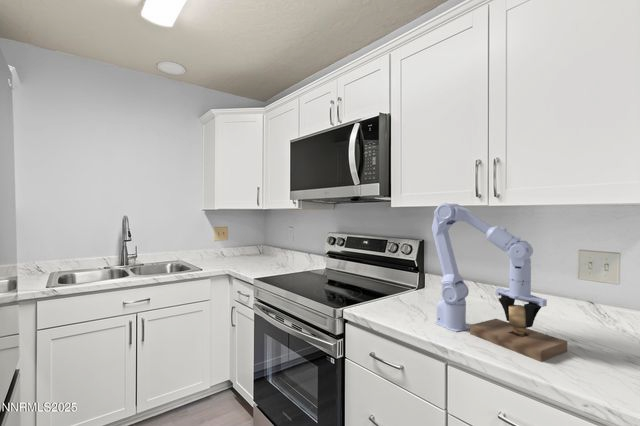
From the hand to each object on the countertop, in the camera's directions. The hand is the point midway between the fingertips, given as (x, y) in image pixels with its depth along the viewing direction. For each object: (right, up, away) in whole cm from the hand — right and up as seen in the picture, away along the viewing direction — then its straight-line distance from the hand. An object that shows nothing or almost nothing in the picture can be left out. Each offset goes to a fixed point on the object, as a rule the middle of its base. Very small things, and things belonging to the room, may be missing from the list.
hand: (519, 323), depth 100 cm
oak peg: (0, -3, 0) cm, 3 cm away
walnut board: (-1, -6, +1) cm, 6 cm away
